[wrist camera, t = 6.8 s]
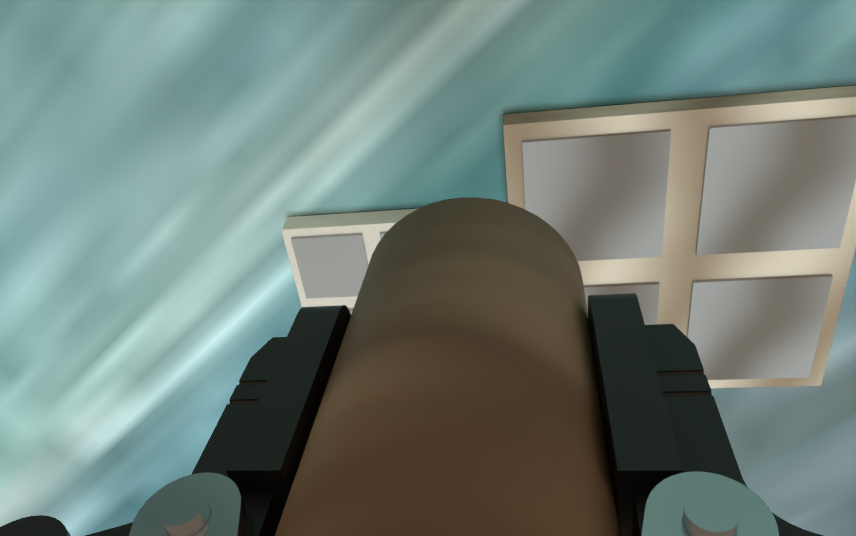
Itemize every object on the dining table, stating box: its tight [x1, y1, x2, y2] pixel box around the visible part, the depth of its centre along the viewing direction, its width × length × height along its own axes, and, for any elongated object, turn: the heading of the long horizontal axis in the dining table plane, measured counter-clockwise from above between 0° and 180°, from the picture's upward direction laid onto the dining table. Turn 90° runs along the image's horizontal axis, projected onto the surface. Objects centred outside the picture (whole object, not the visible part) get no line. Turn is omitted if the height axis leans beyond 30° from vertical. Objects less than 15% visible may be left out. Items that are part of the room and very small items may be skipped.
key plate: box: [281, 209, 417, 314], centre depth 31 cm, size 8×8×4 cm
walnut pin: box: [275, 198, 621, 536], centre depth 9 cm, size 4×4×8 cm
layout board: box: [503, 85, 856, 388], centre depth 29 cm, size 14×14×1 cm
